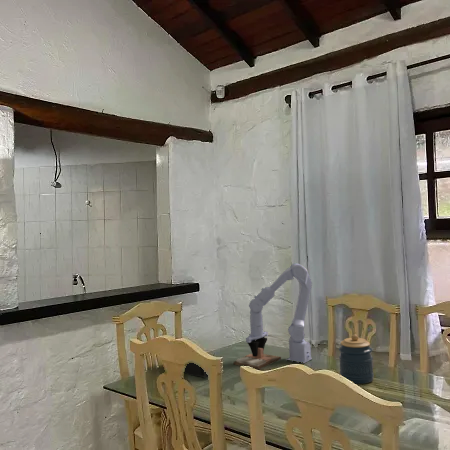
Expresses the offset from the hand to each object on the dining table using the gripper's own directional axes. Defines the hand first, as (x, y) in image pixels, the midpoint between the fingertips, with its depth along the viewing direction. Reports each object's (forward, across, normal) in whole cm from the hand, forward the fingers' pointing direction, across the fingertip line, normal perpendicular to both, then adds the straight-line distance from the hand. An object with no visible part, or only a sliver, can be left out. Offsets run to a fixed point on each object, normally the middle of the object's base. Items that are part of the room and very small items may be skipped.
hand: (257, 354), depth 210 cm
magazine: (+3, +28, -18) cm, 34 cm away
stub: (+2, 0, 0) cm, 2 cm away
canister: (+3, -2, +47) cm, 47 cm away
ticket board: (+3, 0, 0) cm, 3 cm away
